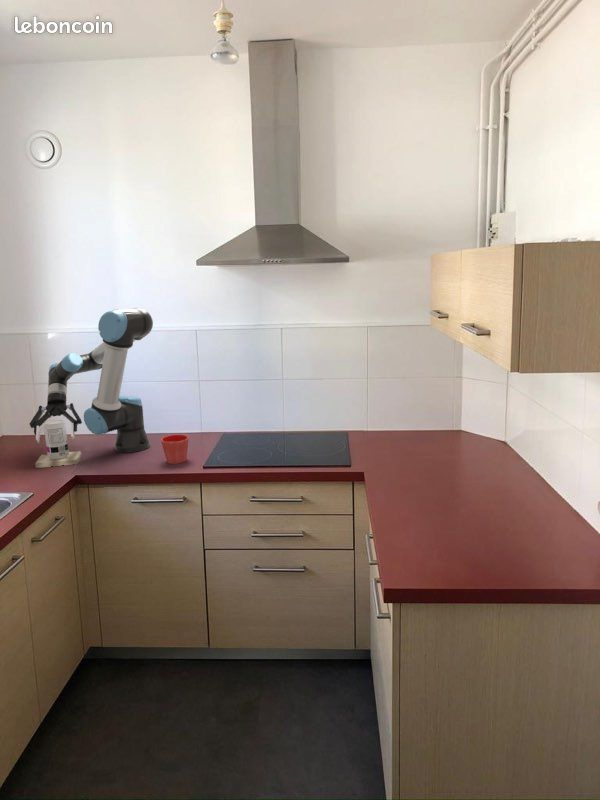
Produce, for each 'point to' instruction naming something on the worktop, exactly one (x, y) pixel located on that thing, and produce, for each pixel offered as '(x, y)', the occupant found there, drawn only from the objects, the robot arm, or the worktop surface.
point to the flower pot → (175, 448)
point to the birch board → (58, 460)
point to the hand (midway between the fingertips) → (55, 439)
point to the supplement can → (56, 439)
